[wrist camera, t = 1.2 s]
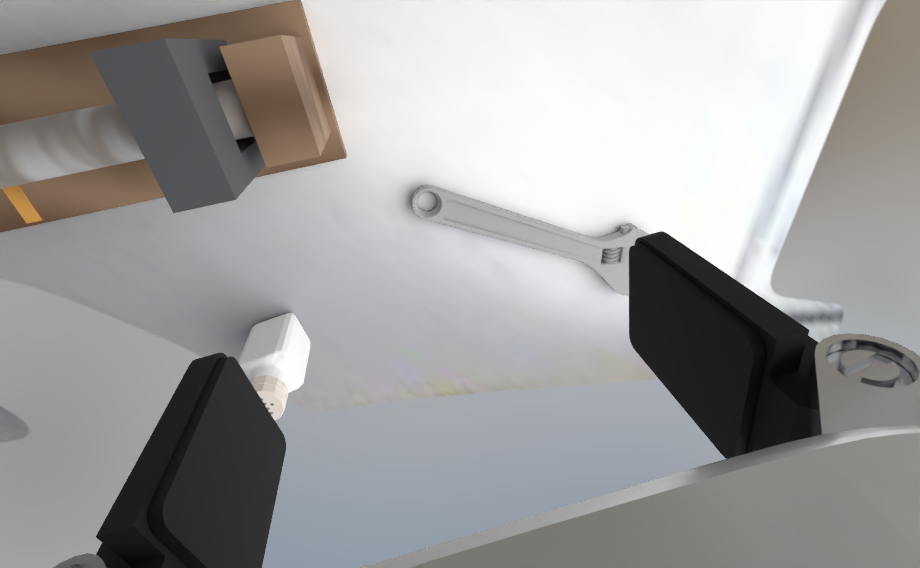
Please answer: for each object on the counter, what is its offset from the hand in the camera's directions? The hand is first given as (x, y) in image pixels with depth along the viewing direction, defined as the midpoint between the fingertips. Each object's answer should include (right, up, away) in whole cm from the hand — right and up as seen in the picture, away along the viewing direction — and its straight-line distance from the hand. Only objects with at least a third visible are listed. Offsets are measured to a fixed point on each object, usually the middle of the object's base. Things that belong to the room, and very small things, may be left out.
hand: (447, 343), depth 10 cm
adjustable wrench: (+8, +7, +30) cm, 32 cm away
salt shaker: (-16, -3, +30) cm, 34 cm away
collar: (-14, +12, +17) cm, 26 cm away
